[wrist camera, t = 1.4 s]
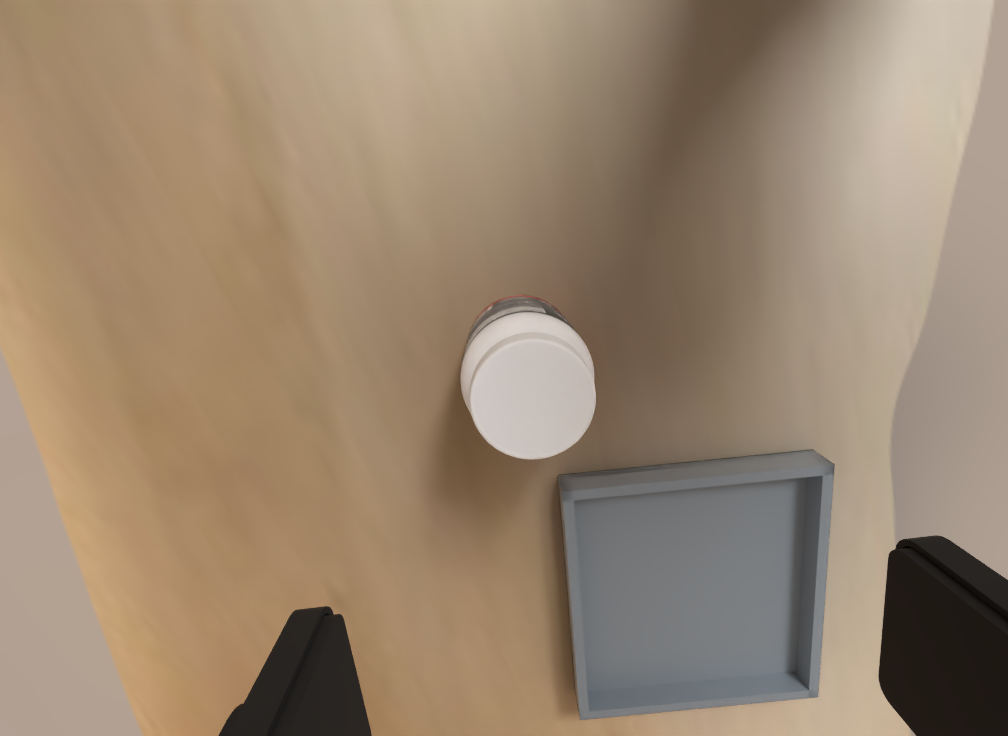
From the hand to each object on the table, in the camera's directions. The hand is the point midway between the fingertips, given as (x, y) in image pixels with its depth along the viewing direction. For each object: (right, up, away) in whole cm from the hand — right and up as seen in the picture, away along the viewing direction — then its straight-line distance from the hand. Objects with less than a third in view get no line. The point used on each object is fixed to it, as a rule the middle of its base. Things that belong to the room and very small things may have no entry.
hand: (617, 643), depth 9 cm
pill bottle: (-1, +6, +20) cm, 21 cm away
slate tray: (+10, -9, +24) cm, 27 cm away
